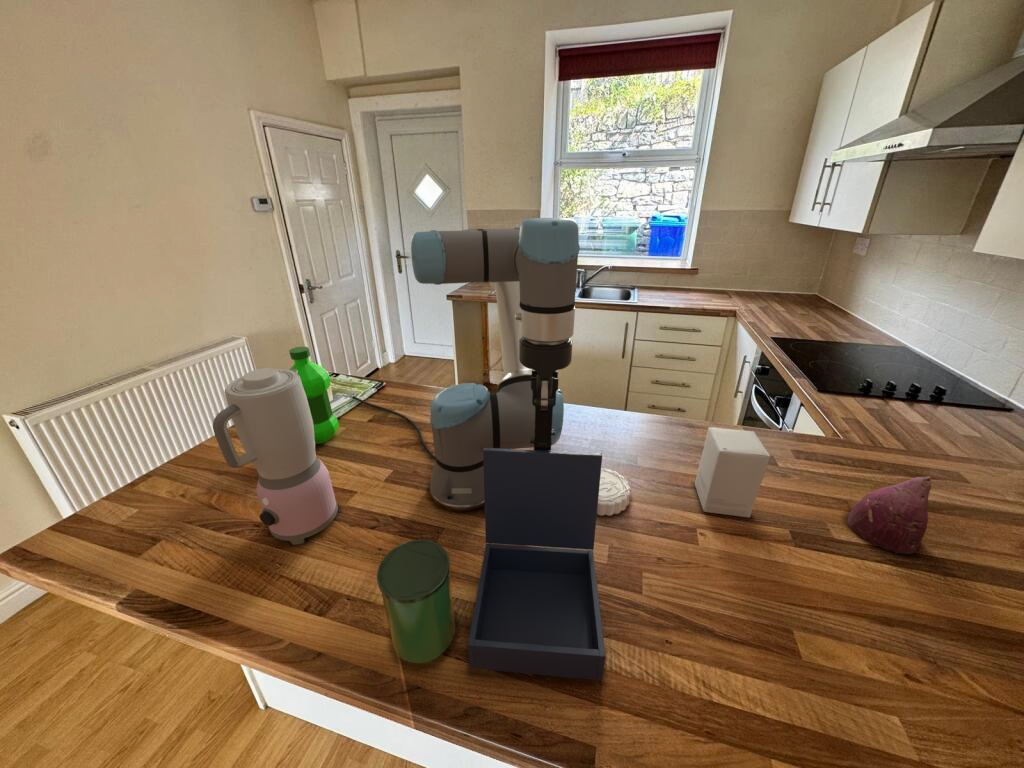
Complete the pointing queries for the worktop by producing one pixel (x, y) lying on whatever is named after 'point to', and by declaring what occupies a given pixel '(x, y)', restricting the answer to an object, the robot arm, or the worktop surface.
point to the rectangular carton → (731, 471)
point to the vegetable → (893, 515)
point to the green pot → (418, 599)
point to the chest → (538, 613)
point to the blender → (278, 451)
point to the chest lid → (541, 497)
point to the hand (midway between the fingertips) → (541, 472)
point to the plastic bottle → (315, 393)
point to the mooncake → (612, 493)
